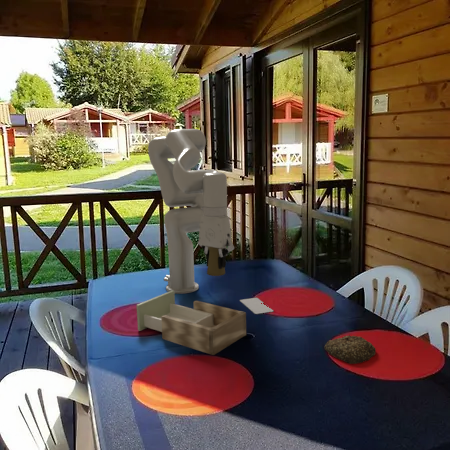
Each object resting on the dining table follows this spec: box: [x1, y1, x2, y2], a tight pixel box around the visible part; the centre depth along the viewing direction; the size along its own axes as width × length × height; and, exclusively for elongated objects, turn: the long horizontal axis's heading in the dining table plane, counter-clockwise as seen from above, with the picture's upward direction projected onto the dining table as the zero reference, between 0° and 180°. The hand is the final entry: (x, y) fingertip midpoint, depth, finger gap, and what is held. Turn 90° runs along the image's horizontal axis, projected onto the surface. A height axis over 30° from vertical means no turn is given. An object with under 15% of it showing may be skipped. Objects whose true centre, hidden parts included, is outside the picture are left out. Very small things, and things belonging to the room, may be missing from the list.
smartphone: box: [239, 297, 275, 315], centre depth 165 cm, size 7×1×15 cm
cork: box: [206, 247, 226, 277], centre depth 154 cm, size 6×6×11 cm
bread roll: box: [324, 334, 377, 365], centre depth 129 cm, size 13×12×5 cm
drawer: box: [136, 290, 214, 333], centre depth 146 cm, size 18×16×8 cm
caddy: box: [161, 300, 247, 356], centre depth 140 cm, size 19×16×7 cm
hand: (216, 266), depth 155 cm, fingers closed on cork, 4 cm apart
